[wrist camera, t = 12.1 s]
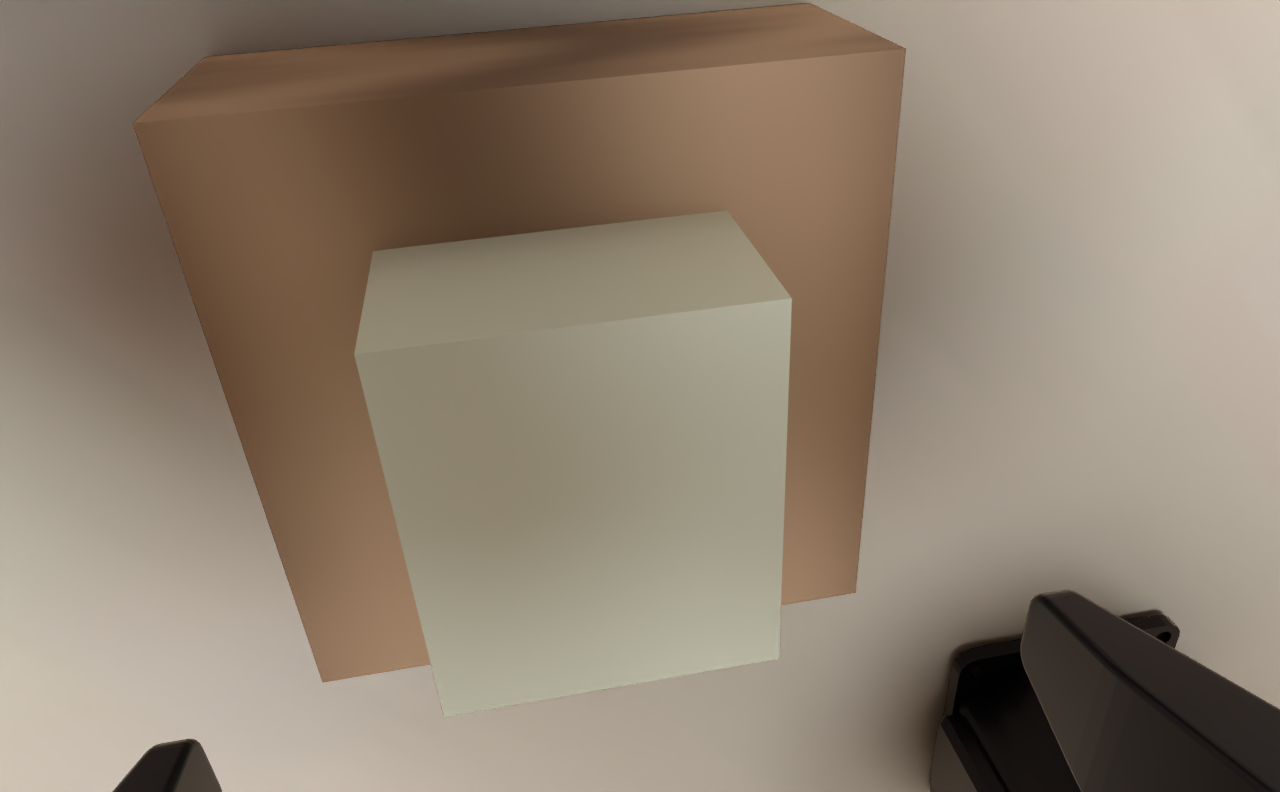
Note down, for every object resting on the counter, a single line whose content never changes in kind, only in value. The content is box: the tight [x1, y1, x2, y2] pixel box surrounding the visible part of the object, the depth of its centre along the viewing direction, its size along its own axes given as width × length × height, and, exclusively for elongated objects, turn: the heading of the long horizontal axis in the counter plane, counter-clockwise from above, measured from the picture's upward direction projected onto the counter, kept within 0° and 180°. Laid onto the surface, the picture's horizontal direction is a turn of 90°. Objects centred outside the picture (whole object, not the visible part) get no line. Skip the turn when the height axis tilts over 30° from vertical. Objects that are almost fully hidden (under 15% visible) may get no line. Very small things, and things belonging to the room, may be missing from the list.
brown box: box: [133, 3, 906, 682], centre depth 16 cm, size 10×10×4 cm
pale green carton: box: [354, 210, 792, 717], centre depth 13 cm, size 5×6×3 cm
